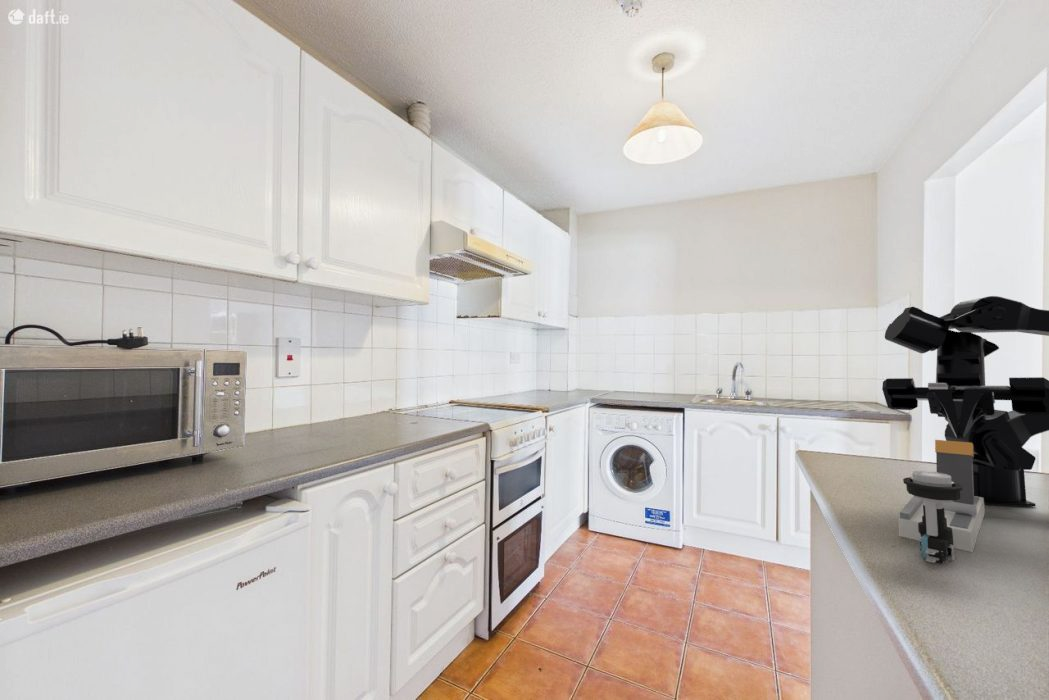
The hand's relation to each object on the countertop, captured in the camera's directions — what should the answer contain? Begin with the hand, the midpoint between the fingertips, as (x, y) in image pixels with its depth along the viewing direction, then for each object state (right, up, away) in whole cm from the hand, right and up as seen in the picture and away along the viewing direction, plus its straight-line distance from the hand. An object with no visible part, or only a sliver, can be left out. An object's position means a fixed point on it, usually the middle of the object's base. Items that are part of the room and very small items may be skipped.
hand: (959, 436), depth 65 cm
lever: (-6, -9, -5) cm, 12 cm away
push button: (-16, -12, -13) cm, 24 cm away
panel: (-5, -12, -2) cm, 14 cm away
